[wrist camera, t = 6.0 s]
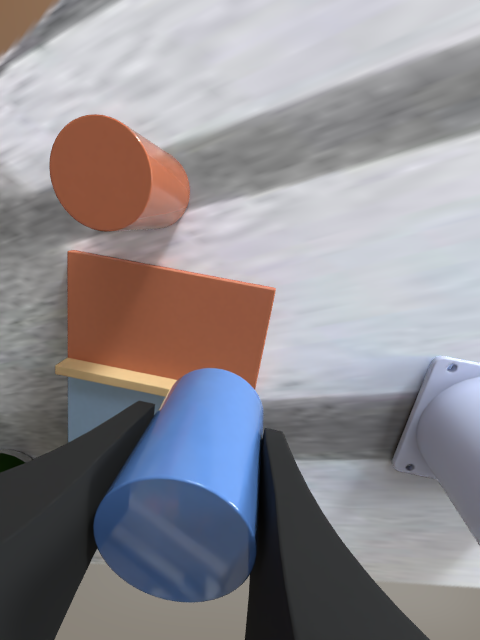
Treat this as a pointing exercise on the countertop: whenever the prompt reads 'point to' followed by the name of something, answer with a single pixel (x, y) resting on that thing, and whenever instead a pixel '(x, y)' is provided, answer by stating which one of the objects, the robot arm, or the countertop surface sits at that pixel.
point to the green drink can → (12, 459)
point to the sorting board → (152, 333)
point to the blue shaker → (189, 493)
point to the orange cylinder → (116, 177)
